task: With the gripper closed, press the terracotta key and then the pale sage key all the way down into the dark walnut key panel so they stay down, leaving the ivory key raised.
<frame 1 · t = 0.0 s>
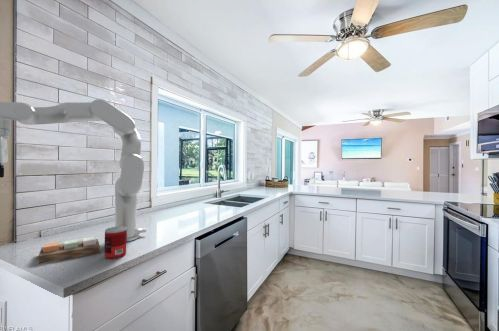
terracotta key: (51, 248, 90), point 3 cm above the worktop, slide at 0.0 cm
key panel: (71, 253, 94), on the worktop
ivory key: (89, 242, 98), point 4 cm above the worktop, slide at 0.0 cm
canned food: (115, 255, 93), on the worktop
sage key: (71, 245, 94), point 3 cm above the worktop, slide at 0.0 cm
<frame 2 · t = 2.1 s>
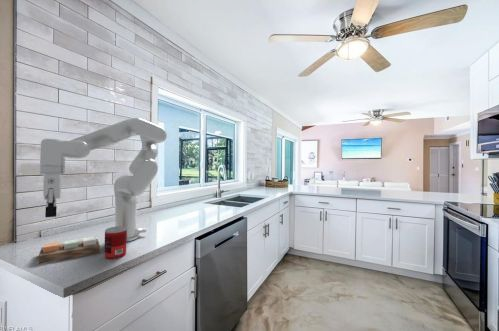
hand: (50, 216, 90), 16 cm above the worktop, tool pointing down, fingers closed
nothing on the worktop moved.
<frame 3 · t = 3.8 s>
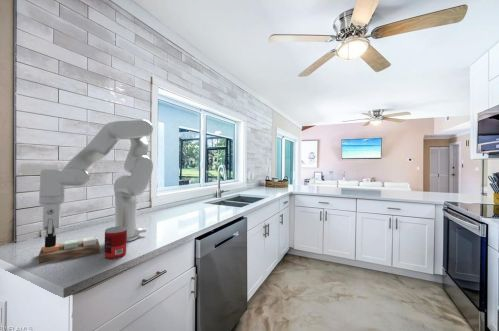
hand: (50, 245, 90), 5 cm above the worktop, tool pointing down, fingers closed
terracotta key: (51, 249, 90), point 3 cm above the worktop, slide at 0.5 cm, touching gripper
everything else where it was.
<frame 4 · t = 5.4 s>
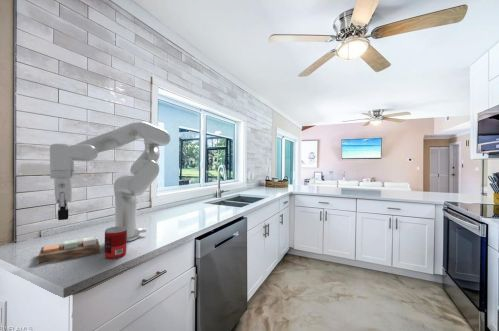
hand: (63, 219, 93), 15 cm above the worktop, tool pointing down, fingers closed
terracotta key: (51, 251, 90), point 2 cm above the worktop, slide at 1.1 cm
everything else where it was.
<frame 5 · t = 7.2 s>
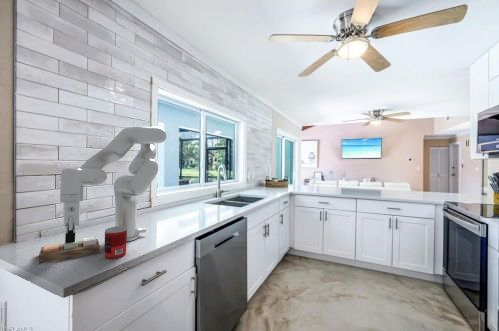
hand: (70, 242, 94), 5 cm above the worktop, tool pointing down, fingers closed
sage key: (71, 245, 94), point 3 cm above the worktop, slide at 0.2 cm, touching gripper
everything else where it was.
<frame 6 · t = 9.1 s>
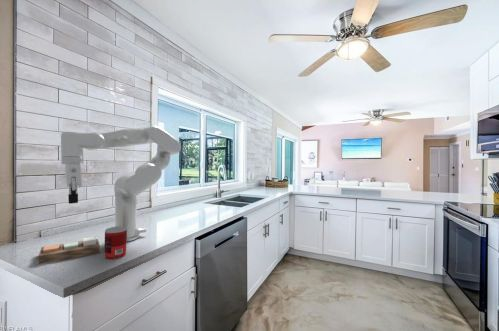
hand: (73, 202, 99), 20 cm above the worktop, tool pointing down, fingers closed
sage key: (71, 247, 94), point 2 cm above the worktop, slide at 1.1 cm
everything else where it was.
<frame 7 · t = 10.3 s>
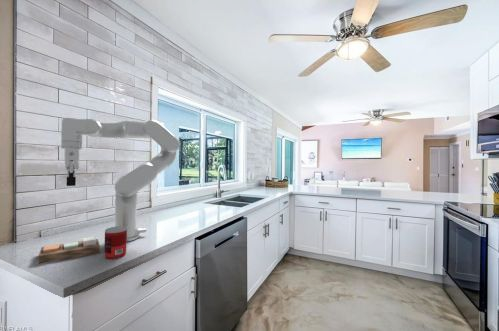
hand: (71, 185, 104), 27 cm above the worktop, tool pointing down, fingers closed
nothing on the worktop moved.
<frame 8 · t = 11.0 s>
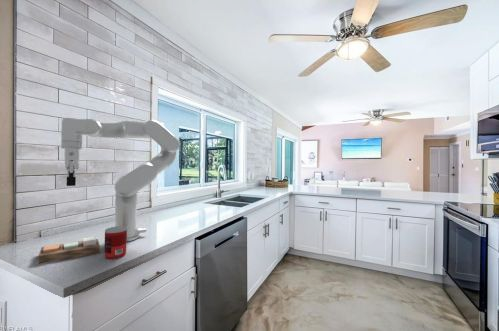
hand: (71, 185, 104), 27 cm above the worktop, tool pointing down, fingers closed
nothing on the worktop moved.
at the end: terracotta key slide at 1.1 cm; sage key slide at 1.1 cm; ivory key slide at 0.0 cm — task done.
